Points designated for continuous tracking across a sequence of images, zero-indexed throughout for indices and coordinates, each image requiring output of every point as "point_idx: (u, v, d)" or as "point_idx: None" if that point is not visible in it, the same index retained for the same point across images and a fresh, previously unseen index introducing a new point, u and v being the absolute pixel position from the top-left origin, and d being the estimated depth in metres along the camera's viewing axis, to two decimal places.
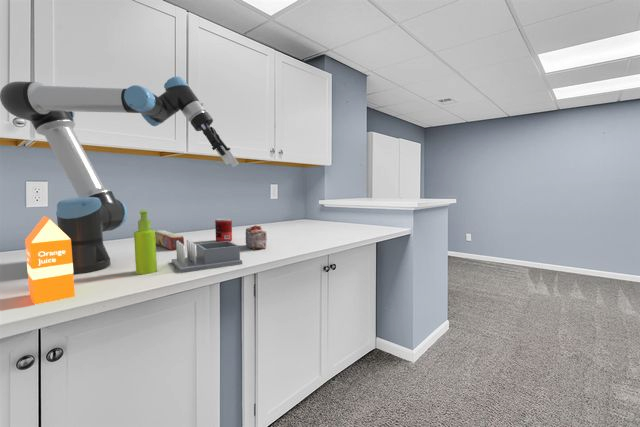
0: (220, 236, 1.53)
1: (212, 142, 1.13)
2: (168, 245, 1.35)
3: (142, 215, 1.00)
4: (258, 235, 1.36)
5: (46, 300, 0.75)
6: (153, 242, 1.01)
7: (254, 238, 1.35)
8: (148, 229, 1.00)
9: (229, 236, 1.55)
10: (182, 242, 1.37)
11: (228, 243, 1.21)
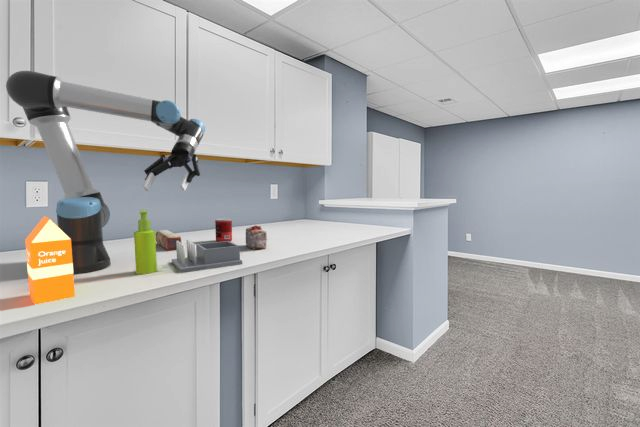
0: (220, 236, 1.53)
1: (190, 168, 1.14)
2: (165, 245, 1.35)
3: (142, 215, 0.99)
4: (258, 235, 1.36)
5: (46, 300, 0.75)
6: (153, 242, 1.01)
7: (254, 238, 1.35)
8: (148, 229, 1.00)
9: (229, 236, 1.55)
10: None
11: (228, 243, 1.21)
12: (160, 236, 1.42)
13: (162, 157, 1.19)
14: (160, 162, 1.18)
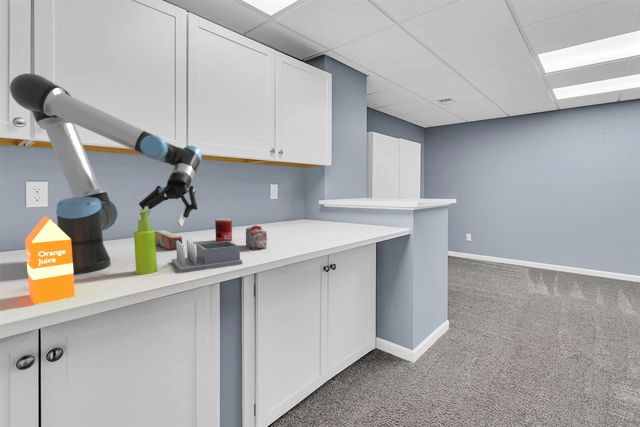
0: (220, 236, 1.53)
1: None
2: (166, 245, 1.35)
3: (142, 215, 1.00)
4: (258, 235, 1.36)
5: (46, 300, 0.75)
6: (153, 242, 1.01)
7: (254, 238, 1.35)
8: (148, 229, 1.00)
9: (229, 236, 1.55)
10: None
11: (228, 243, 1.21)
12: (159, 236, 1.42)
13: (157, 188, 1.14)
14: (155, 194, 1.14)
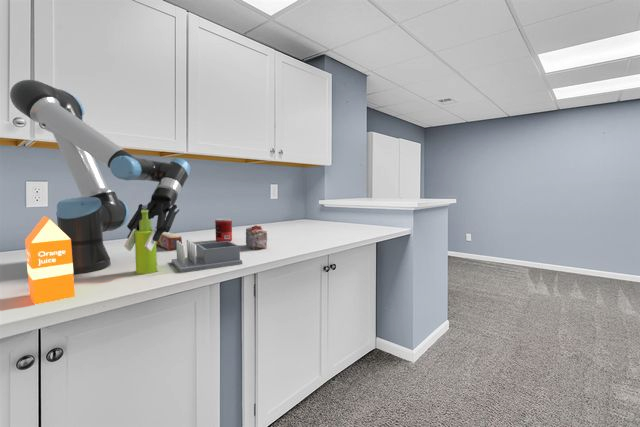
0: (220, 236, 1.53)
1: (161, 223, 1.02)
2: (166, 245, 1.35)
3: (144, 215, 0.99)
4: (259, 235, 1.36)
5: (46, 300, 0.75)
6: None
7: (255, 238, 1.35)
8: (149, 229, 1.00)
9: (229, 236, 1.55)
10: None
11: (228, 243, 1.21)
12: None
13: (140, 207, 1.07)
14: (140, 213, 1.06)
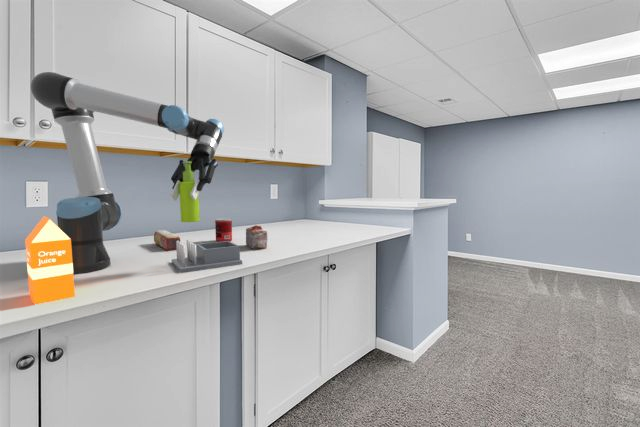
0: (220, 236, 1.53)
1: (203, 175, 1.08)
2: (164, 246, 1.34)
3: (187, 166, 1.05)
4: (259, 235, 1.36)
5: (46, 300, 0.75)
6: None
7: (255, 238, 1.35)
8: (192, 180, 1.05)
9: (229, 236, 1.55)
10: None
11: (228, 243, 1.21)
12: (159, 236, 1.42)
13: (181, 162, 1.12)
14: (182, 167, 1.12)
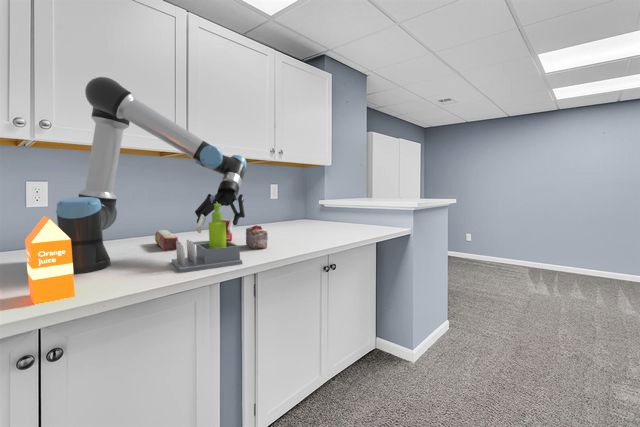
0: None
1: None
2: (162, 246, 1.34)
3: (216, 208, 1.13)
4: (259, 235, 1.36)
5: (46, 300, 0.75)
6: (225, 232, 1.14)
7: (255, 238, 1.36)
8: (220, 220, 1.14)
9: (229, 236, 1.55)
10: None
11: (228, 243, 1.21)
12: (158, 236, 1.42)
13: (209, 196, 1.21)
14: (208, 201, 1.20)
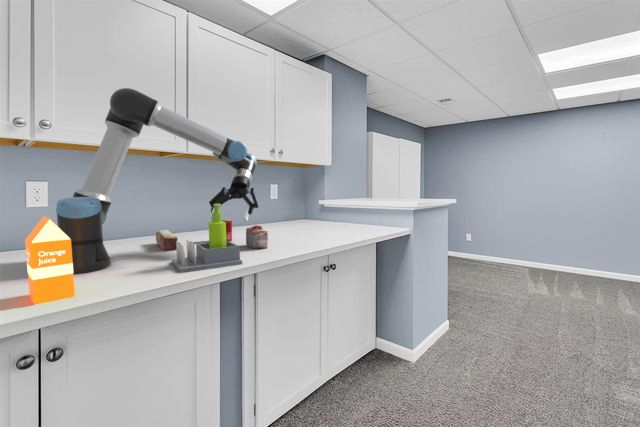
0: None
1: (250, 201, 1.29)
2: (162, 246, 1.34)
3: (216, 208, 1.13)
4: (260, 235, 1.36)
5: (46, 300, 0.75)
6: (225, 232, 1.14)
7: (256, 238, 1.36)
8: (220, 220, 1.14)
9: (229, 236, 1.55)
10: (175, 243, 1.35)
11: (228, 243, 1.21)
12: (159, 236, 1.42)
13: (223, 189, 1.34)
14: (222, 194, 1.33)
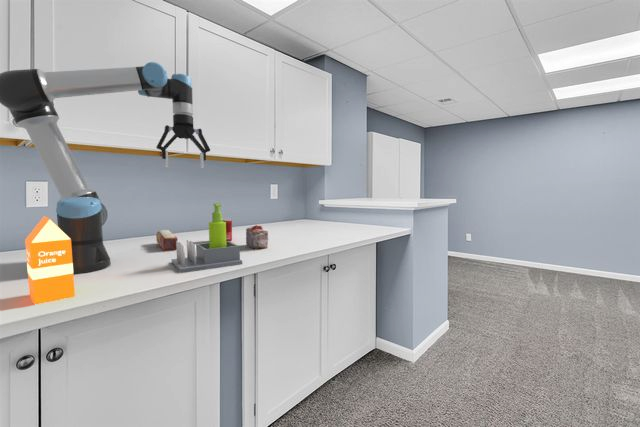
0: None
1: (201, 146, 1.33)
2: (162, 246, 1.34)
3: (216, 208, 1.13)
4: (260, 235, 1.37)
5: (46, 300, 0.75)
6: (225, 232, 1.14)
7: (256, 238, 1.36)
8: (221, 220, 1.14)
9: (229, 236, 1.55)
10: (175, 243, 1.35)
11: (228, 243, 1.21)
12: (159, 236, 1.42)
13: (168, 129, 1.25)
14: None
